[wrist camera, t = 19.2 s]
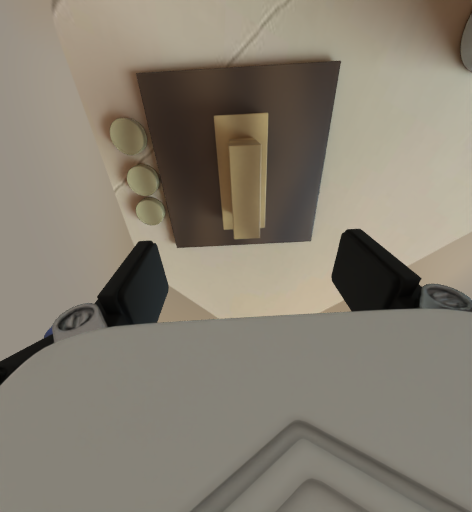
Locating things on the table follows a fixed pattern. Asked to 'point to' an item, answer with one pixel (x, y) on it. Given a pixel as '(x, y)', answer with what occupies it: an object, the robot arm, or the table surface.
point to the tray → (205, 152)
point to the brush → (242, 171)
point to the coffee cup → (467, 45)
